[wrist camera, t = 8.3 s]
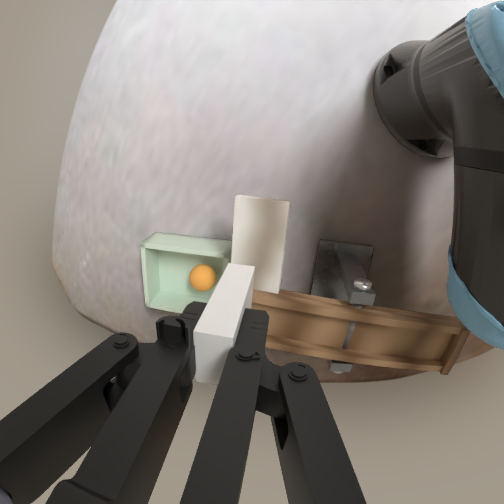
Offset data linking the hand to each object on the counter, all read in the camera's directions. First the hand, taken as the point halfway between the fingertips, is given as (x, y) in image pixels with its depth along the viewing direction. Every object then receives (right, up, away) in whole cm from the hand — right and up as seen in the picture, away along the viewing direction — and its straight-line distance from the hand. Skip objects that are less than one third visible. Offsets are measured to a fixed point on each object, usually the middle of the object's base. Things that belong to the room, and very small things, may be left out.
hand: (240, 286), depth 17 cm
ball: (-6, -1, +21) cm, 21 cm away
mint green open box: (-7, 0, +23) cm, 24 cm away
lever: (+11, -2, +11) cm, 16 cm away
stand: (+12, -3, +21) cm, 24 cm away
